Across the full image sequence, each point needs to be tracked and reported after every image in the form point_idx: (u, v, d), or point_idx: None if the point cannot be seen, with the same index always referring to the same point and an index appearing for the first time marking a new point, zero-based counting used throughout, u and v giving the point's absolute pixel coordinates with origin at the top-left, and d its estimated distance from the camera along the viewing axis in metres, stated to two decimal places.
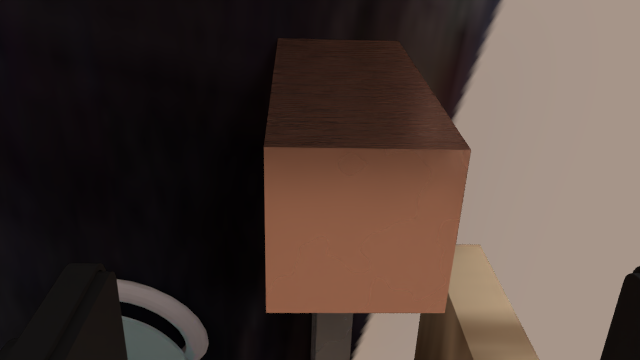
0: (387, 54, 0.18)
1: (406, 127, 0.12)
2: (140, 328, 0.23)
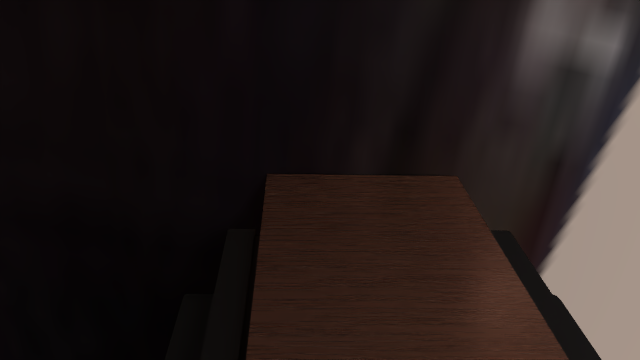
0: (447, 215, 0.11)
1: None
2: None
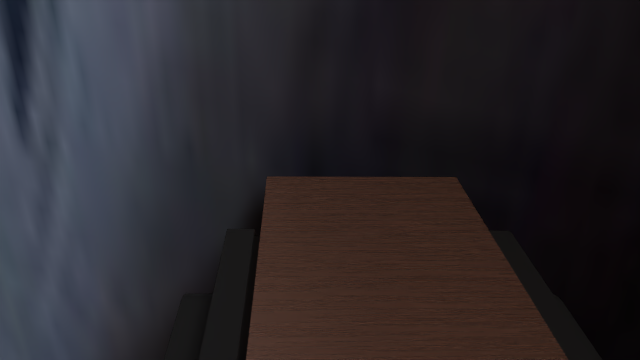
0: (446, 216, 0.11)
1: None
2: None
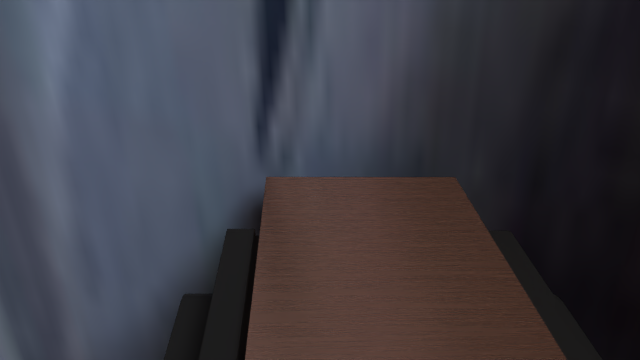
0: (446, 216, 0.11)
1: None
2: None
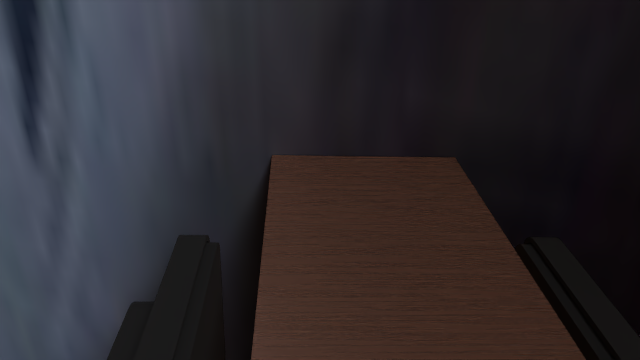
0: (446, 192, 0.11)
1: None
2: None
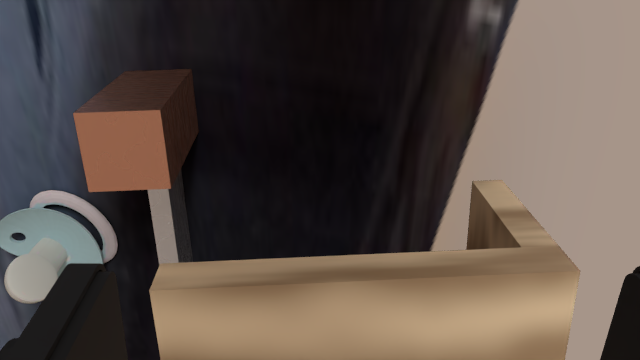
0: (175, 75, 0.33)
1: (143, 104, 0.28)
2: (80, 228, 0.38)
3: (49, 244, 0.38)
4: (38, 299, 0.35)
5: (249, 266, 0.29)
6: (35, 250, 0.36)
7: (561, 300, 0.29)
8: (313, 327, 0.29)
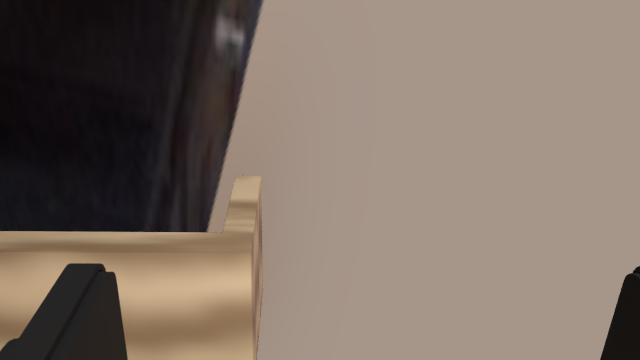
0: None
1: None
2: None
3: None
4: None
5: None
6: None
7: (239, 276, 0.36)
8: (37, 288, 0.36)
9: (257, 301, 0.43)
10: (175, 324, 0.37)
